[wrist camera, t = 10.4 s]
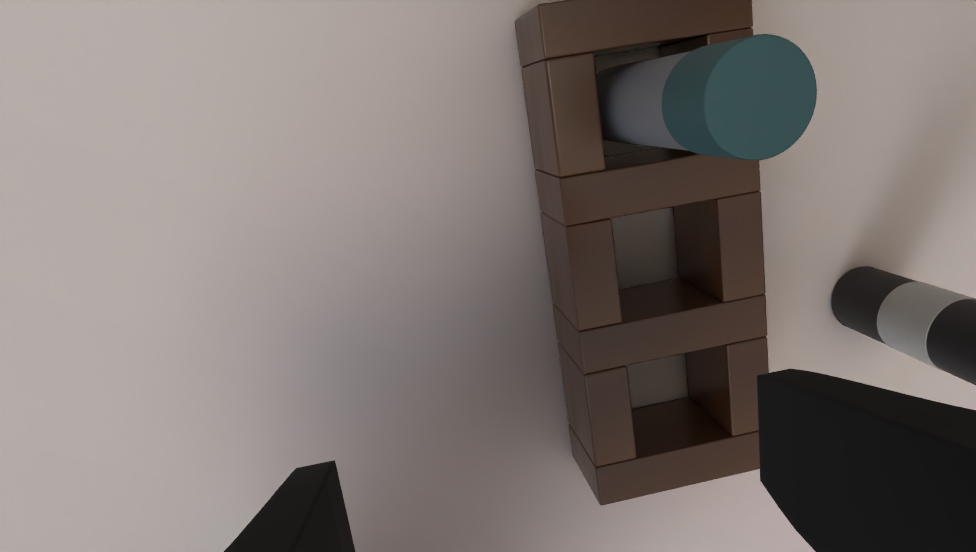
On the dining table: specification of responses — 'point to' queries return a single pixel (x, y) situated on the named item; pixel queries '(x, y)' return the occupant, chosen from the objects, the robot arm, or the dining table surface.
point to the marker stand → (659, 306)
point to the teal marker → (712, 99)
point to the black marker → (910, 318)
